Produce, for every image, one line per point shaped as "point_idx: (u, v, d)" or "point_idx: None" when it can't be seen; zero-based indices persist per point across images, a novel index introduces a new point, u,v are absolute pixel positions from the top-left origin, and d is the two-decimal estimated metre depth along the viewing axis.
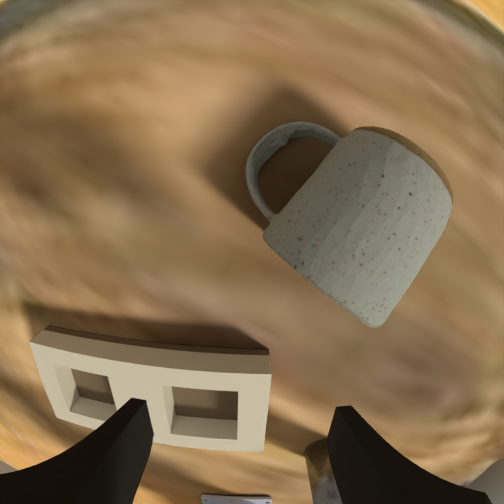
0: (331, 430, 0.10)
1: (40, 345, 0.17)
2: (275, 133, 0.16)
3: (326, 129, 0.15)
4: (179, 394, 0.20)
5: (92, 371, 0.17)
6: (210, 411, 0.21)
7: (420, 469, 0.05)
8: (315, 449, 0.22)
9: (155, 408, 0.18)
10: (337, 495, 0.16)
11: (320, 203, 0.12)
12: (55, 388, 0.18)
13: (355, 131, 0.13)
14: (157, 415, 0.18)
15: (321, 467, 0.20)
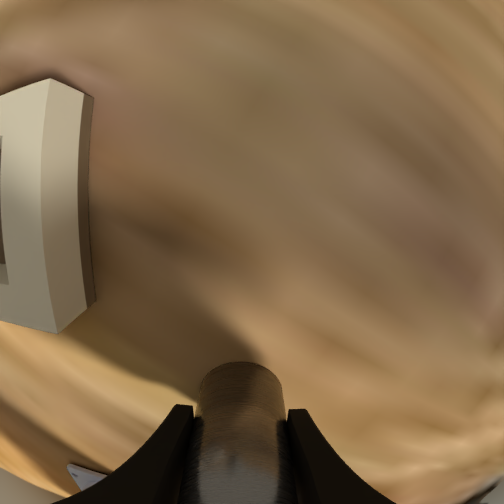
0: None
1: None
2: None
3: None
4: None
5: None
6: None
7: (362, 483, 0.05)
8: (213, 381, 0.11)
9: None
10: None
11: None
12: None
13: None
14: None
15: (210, 421, 0.08)
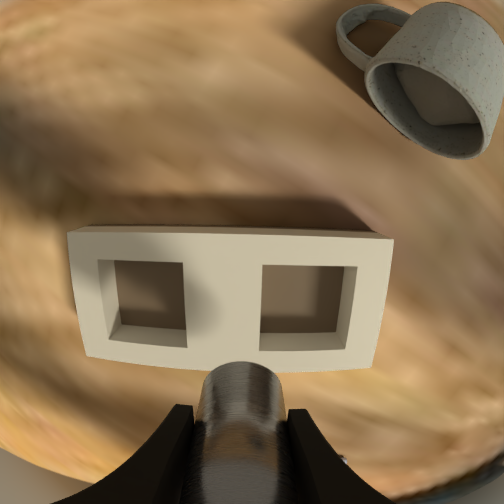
0: None
1: (83, 234, 0.15)
2: (357, 9, 0.13)
3: None
4: (268, 297, 0.18)
5: (160, 258, 0.15)
6: (304, 320, 0.18)
7: (363, 483, 0.05)
8: (209, 383, 0.11)
9: (245, 306, 0.16)
10: (215, 500, 0.05)
11: (421, 30, 0.10)
12: (93, 302, 0.15)
13: (426, 5, 0.10)
14: (246, 320, 0.16)
15: (205, 421, 0.09)
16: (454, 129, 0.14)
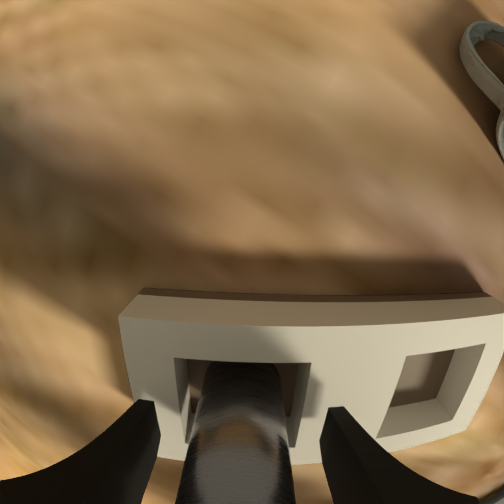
0: (323, 431, 0.10)
1: (148, 321, 0.10)
2: (479, 25, 0.08)
3: None
4: None
5: (278, 359, 0.10)
6: (411, 393, 0.13)
7: (411, 472, 0.05)
8: (210, 372, 0.12)
9: (375, 401, 0.11)
10: (213, 476, 0.06)
11: None
12: (164, 406, 0.11)
13: None
14: (372, 413, 0.11)
15: (206, 406, 0.09)
16: None
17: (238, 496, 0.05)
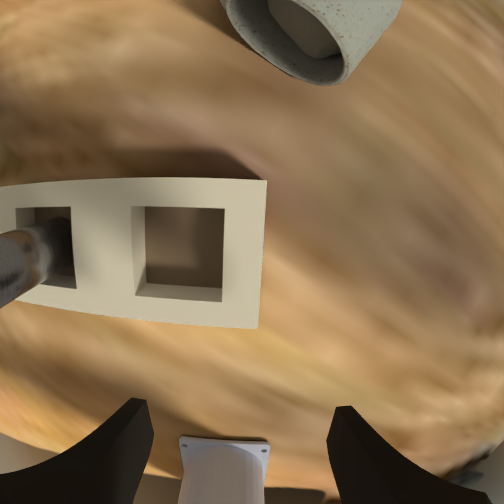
0: (331, 430, 0.10)
1: (8, 187, 0.14)
2: None
3: None
4: (153, 246, 0.18)
5: (55, 203, 0.15)
6: (189, 272, 0.18)
7: (420, 469, 0.05)
8: None
9: (119, 248, 0.15)
10: None
11: None
12: None
13: None
14: (120, 261, 0.15)
15: None
16: (342, 59, 0.14)
17: None
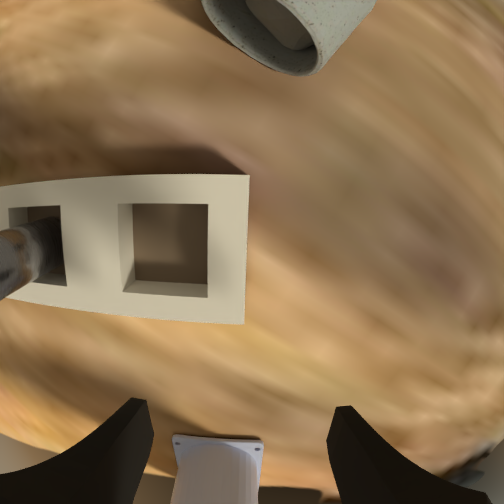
0: (331, 430, 0.10)
1: (1, 188, 0.14)
2: None
3: None
4: (141, 243, 0.18)
5: (45, 203, 0.15)
6: (177, 269, 0.18)
7: (420, 469, 0.05)
8: None
9: (106, 245, 0.15)
10: None
11: None
12: None
13: None
14: (108, 258, 0.15)
15: None
16: None
17: None
